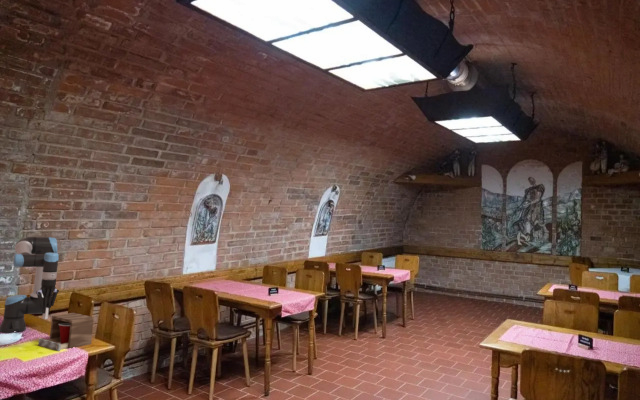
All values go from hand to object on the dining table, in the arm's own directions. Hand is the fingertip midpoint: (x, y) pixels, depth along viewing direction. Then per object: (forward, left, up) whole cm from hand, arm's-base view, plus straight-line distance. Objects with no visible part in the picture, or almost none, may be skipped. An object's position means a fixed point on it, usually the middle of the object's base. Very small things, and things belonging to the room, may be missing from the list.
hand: (44, 318), depth 270 cm
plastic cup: (0, +15, -17) cm, 23 cm away
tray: (0, +13, -18) cm, 22 cm away
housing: (0, +18, -18) cm, 26 cm away
